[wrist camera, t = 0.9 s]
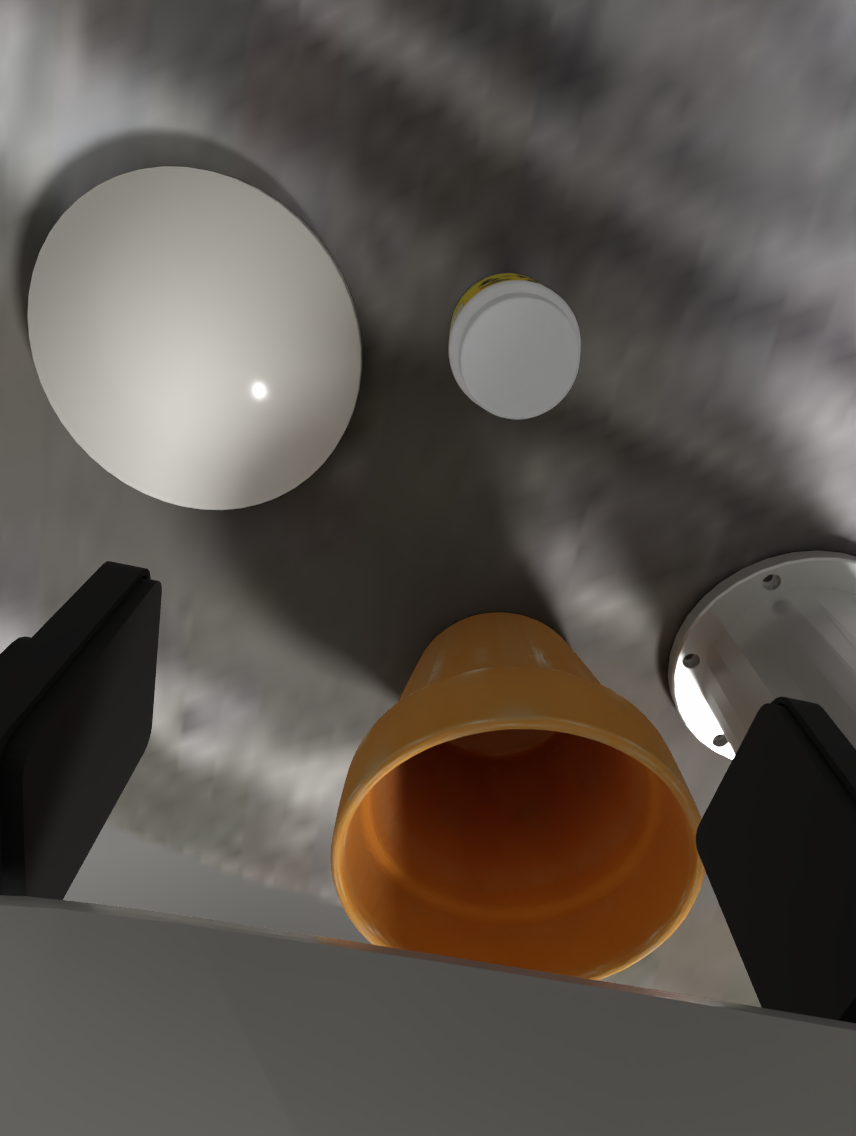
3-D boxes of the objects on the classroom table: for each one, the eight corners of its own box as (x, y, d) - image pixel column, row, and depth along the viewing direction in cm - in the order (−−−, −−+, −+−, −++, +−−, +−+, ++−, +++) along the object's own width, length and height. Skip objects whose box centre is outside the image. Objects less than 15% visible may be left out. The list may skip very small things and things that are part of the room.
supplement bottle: (572, 284, 31) (613, 302, 23) (543, 395, 33) (571, 445, 25) (461, 260, 30) (466, 269, 23) (438, 372, 32) (435, 416, 25)
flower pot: (420, 521, 35) (405, 667, 23) (678, 616, 37) (785, 796, 25) (332, 737, 41) (284, 942, 29) (559, 810, 43) (601, 1031, 31)
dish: (372, 186, 29) (368, 184, 28) (356, 511, 35) (352, 523, 34) (24, 152, 29) (2, 149, 28) (68, 484, 35) (51, 495, 33)
